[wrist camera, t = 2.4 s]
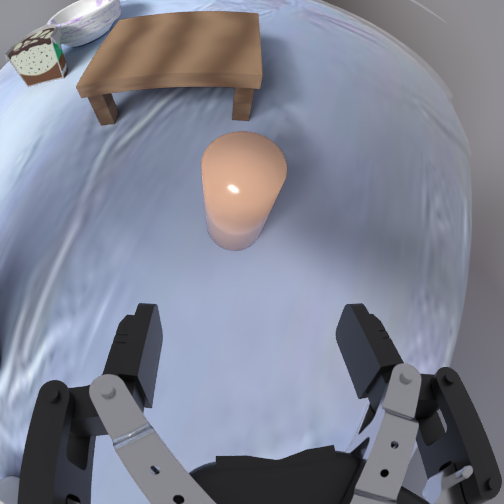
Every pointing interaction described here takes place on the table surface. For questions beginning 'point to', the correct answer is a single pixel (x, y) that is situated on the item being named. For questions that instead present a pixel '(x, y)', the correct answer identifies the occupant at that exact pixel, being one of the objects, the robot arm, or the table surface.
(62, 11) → the paper bowls
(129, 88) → the footstool
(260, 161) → the peach rounded cylinder
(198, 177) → the table surface
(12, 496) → the lumpy-topped squat cylinder
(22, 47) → the food container
